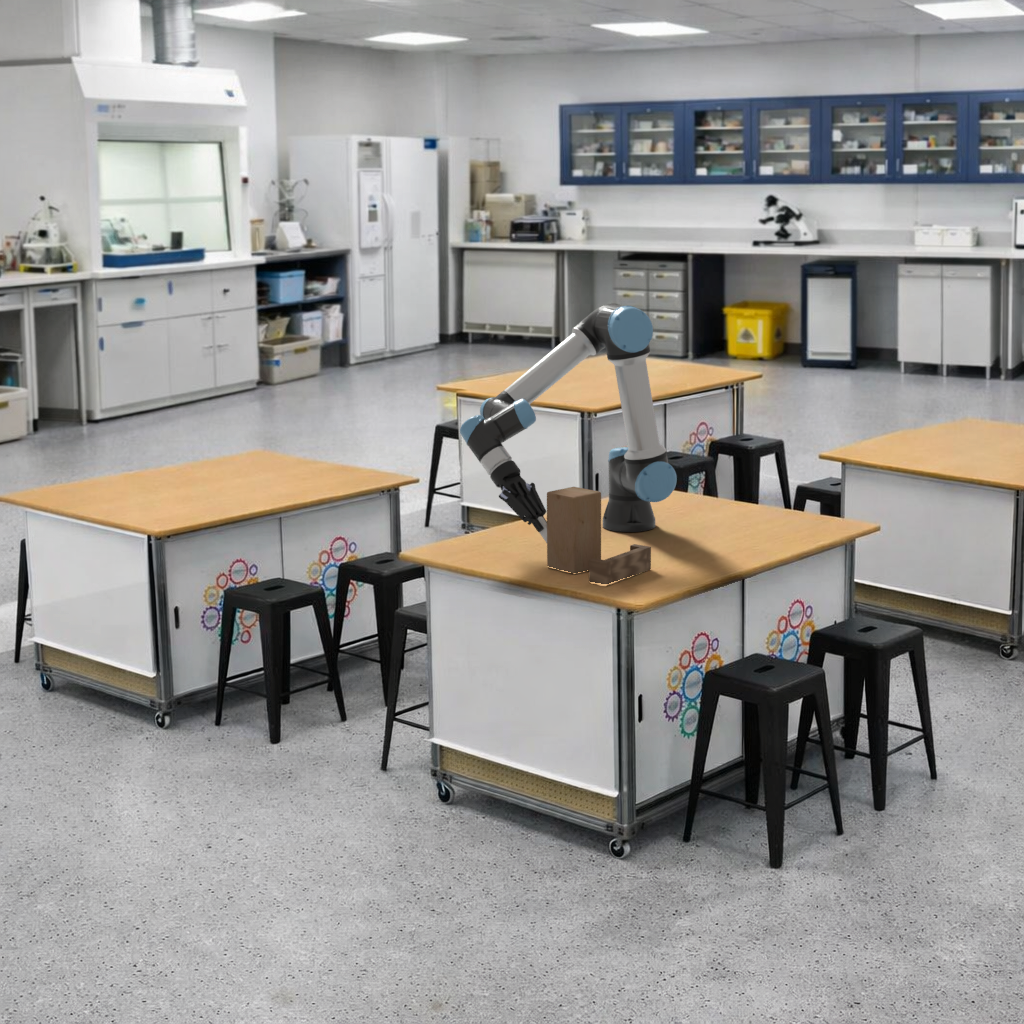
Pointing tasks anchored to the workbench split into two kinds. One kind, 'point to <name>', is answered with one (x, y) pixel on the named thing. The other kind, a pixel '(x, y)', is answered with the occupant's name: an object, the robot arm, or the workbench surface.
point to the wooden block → (573, 528)
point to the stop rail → (620, 565)
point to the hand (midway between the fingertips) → (551, 539)
